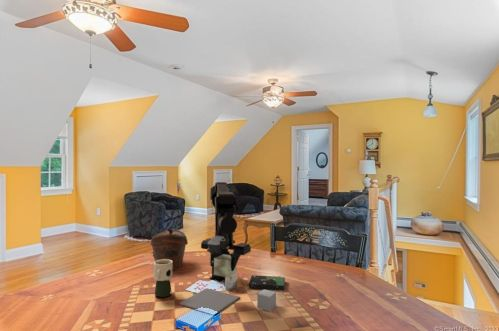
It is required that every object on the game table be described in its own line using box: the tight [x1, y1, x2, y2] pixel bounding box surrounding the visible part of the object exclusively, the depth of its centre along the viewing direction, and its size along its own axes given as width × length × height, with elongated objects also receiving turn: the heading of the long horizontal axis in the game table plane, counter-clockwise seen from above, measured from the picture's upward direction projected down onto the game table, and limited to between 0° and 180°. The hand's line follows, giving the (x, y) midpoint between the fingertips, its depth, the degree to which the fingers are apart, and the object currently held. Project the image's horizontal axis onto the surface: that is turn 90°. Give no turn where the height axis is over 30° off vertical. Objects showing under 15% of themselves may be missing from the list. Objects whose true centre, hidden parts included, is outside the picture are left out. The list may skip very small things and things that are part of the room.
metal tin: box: [224, 272, 238, 292], centre depth 128 cm, size 5×5×6 cm
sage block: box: [214, 254, 238, 278], centre depth 116 cm, size 6×6×6 cm
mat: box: [178, 287, 241, 313], centre depth 116 cm, size 16×16×1 cm
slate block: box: [256, 289, 277, 312], centre depth 112 cm, size 5×5×5 cm
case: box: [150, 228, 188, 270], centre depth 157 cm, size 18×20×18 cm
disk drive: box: [248, 274, 286, 292], centre depth 132 cm, size 10×3×15 cm
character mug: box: [153, 259, 174, 298], centre depth 121 cm, size 11×7×13 cm, turn 174°
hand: (225, 269), depth 116 cm, fingers closed on sage block, 6 cm apart
